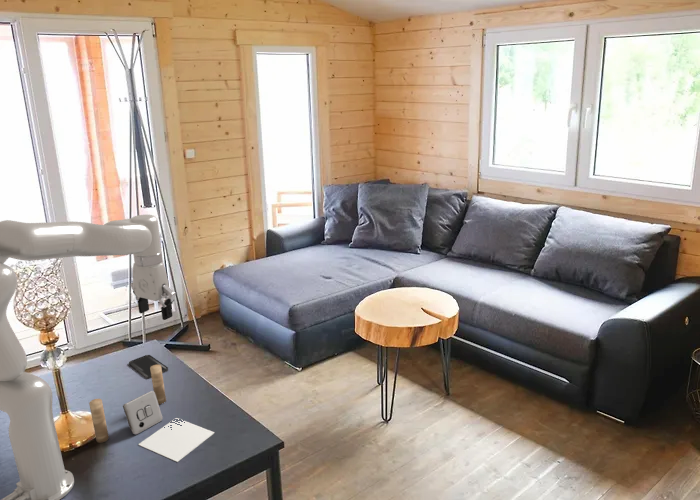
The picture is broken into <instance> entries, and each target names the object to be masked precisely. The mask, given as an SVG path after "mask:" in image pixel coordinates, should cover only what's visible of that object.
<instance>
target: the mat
mask: <svg viewBox="0 0 700 500" xmlns="http://www.w3.org/2000/svg"><path fill="white" fill-rule="evenodd" d="M174 419H178V420H179V419H180V418H178V417H176V418H174ZM174 419H173V420H174ZM173 420H171V421H172V422H175V421H176V420H175V421H173ZM181 420H182V421H183V419H181ZM178 422H180V423H178ZM178 422H175V423H177V424H180V425H182V426H180V425H177V424H175V423H170V422H167V424H165V425H164V426H163V427H161V428H159V429H158V430H157V431H155V432H154V433H153V434H151V435H150V436H148V437H146V438H145V439H143V440H142V441H141V442H140V443H138V446H140V447H142V448H145V449H147V450H149V451H151V452H153V453H156V454H158V455H160V456H162V457H165V458H167V459H170V460H171V461H174V462H177V463H179V462H180V461H181V460H182V459H183V458H185V457H186V456H188V455H189V454H190V453H191V452H193V451H194V450H195V449H197V447H199V446H201V445H202V444H203V443H204V442H206V441H207V440H208V439H209V438H210V437H212V436H213V435H214V434H215V431H212V430H210V429H207V428H204V427H202V426H199V425H197V424H194V423H192V422H189V421H187V420H184V421H183V422H181V421H178ZM184 422H185V423H184ZM170 425H172V426H170ZM168 426H169V427H168ZM164 427H165V428H164ZM170 427H172V428H170ZM171 429H172V430H171Z"/></svg>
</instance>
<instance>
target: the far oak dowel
mask: <svg viewBox="0 0 700 500" xmlns="http://www.w3.org/2000/svg"><path fill="white" fill-rule="evenodd" d="M150 371H151V377H152V378H151V383H152V391H153V392H155V395H156V398H157V401H158V404H159V405H163V404H165V403H166V402H167V396H166V391H165V383H164V377H163V376H164V375H163V373H162V368H161V365H153V366H151V367H150ZM164 402H165V403H164ZM162 403H163V404H162Z"/></svg>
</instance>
